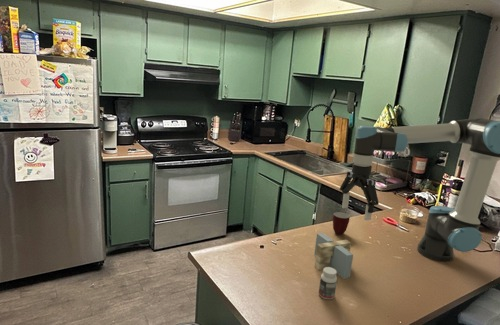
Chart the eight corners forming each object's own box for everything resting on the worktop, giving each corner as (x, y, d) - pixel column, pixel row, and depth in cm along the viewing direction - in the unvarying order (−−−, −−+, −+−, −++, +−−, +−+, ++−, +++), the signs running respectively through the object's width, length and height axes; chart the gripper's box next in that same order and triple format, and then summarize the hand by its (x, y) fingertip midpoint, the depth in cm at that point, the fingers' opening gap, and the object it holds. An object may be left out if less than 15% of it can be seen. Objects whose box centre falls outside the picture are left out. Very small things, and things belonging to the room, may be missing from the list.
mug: (349, 240, 171) (352, 221, 168) (332, 238, 171) (335, 219, 169) (345, 231, 181) (348, 213, 179) (329, 229, 182) (332, 211, 179)
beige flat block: (343, 260, 150) (346, 239, 148) (347, 264, 147) (351, 242, 145) (314, 266, 144) (317, 244, 141) (318, 270, 141) (321, 247, 139)
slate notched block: (349, 277, 137) (353, 254, 135) (343, 278, 136) (347, 255, 134) (319, 253, 155) (322, 232, 153) (314, 254, 154) (317, 233, 151)
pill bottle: (316, 290, 127) (319, 265, 125) (331, 290, 128) (335, 266, 126) (320, 299, 122) (324, 274, 119) (336, 300, 122) (340, 275, 120)
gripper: (393, 171, 131) (385, 223, 136) (348, 156, 153) (343, 202, 158) (378, 172, 128) (370, 226, 133) (335, 157, 150) (329, 204, 155)
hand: (355, 213), depth 145 cm, fingers open, 13 cm apart
